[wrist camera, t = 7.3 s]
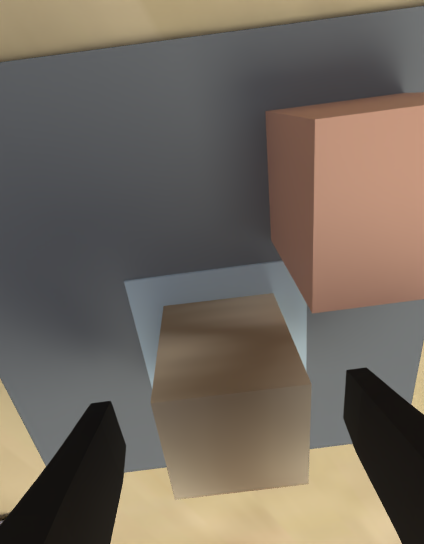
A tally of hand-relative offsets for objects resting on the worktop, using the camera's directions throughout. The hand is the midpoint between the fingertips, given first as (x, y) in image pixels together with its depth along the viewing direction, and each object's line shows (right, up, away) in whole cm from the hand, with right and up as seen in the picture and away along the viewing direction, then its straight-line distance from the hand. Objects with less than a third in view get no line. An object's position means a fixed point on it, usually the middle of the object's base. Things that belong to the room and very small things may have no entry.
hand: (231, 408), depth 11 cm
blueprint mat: (-1, +3, +3) cm, 4 cm away
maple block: (0, +1, +3) cm, 3 cm away
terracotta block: (+3, +7, 0) cm, 8 cm away
